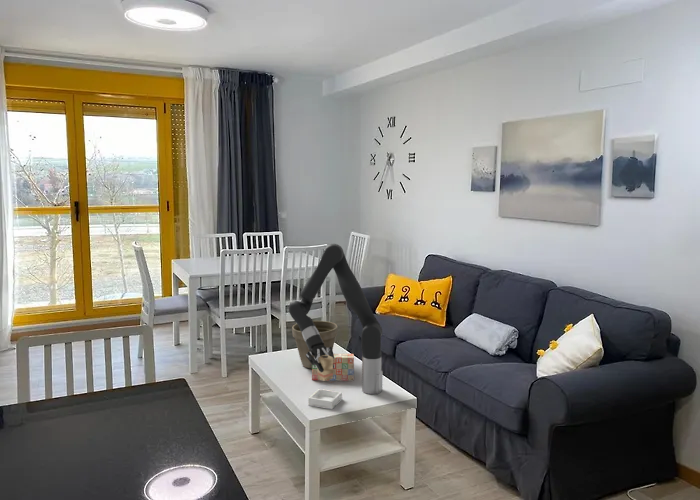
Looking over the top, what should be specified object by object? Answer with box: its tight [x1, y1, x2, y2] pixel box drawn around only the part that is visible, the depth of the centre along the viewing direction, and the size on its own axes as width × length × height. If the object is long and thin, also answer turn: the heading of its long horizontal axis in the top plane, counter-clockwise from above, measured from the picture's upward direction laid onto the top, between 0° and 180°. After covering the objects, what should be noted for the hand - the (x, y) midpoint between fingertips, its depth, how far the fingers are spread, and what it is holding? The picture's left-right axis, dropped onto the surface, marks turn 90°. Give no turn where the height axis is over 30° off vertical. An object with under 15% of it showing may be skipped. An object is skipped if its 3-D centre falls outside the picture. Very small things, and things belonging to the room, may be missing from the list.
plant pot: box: [291, 320, 339, 370], centre depth 302 cm, size 25×25×22 cm
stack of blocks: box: [311, 353, 355, 381], centre depth 283 cm, size 21×6×12 cm, turn 91°
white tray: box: [307, 388, 343, 410], centre depth 254 cm, size 12×12×4 cm
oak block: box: [317, 355, 333, 382], centre depth 252 cm, size 5×5×10 cm
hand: (327, 369), depth 250 cm, fingers closed on oak block, 5 cm apart
